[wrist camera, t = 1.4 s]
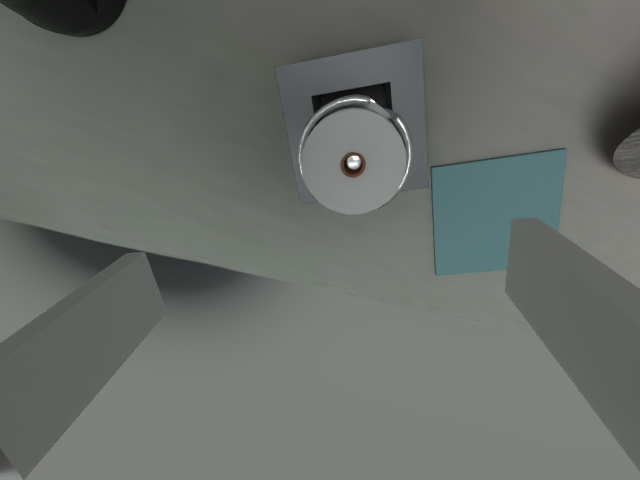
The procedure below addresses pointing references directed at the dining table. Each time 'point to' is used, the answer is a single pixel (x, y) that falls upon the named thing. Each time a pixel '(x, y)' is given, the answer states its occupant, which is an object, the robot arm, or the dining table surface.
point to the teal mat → (491, 207)
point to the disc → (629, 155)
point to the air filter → (354, 155)
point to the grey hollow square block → (352, 73)
